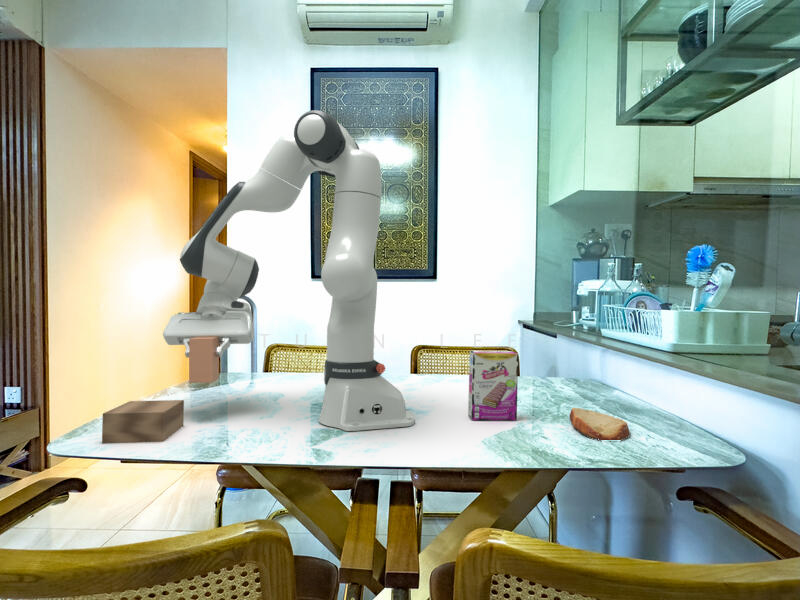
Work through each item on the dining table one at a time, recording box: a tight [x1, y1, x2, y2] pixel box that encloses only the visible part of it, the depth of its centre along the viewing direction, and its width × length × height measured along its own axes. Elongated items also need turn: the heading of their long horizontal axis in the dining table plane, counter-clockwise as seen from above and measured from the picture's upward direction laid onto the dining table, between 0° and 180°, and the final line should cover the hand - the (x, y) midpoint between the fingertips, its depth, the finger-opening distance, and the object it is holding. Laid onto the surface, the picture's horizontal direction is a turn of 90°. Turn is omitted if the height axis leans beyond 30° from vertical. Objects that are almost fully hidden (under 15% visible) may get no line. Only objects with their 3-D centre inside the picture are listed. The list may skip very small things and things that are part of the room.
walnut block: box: [101, 399, 185, 445], centre depth 88 cm, size 11×11×6 cm
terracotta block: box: [188, 337, 220, 384], centre depth 99 cm, size 5×5×10 cm
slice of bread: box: [569, 407, 631, 441], centre depth 98 cm, size 18×18×4 cm
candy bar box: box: [467, 350, 519, 421], centre depth 104 cm, size 11×5×16 cm, turn 92°
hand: (203, 355), depth 99 cm, fingers closed on terracotta block, 5 cm apart
